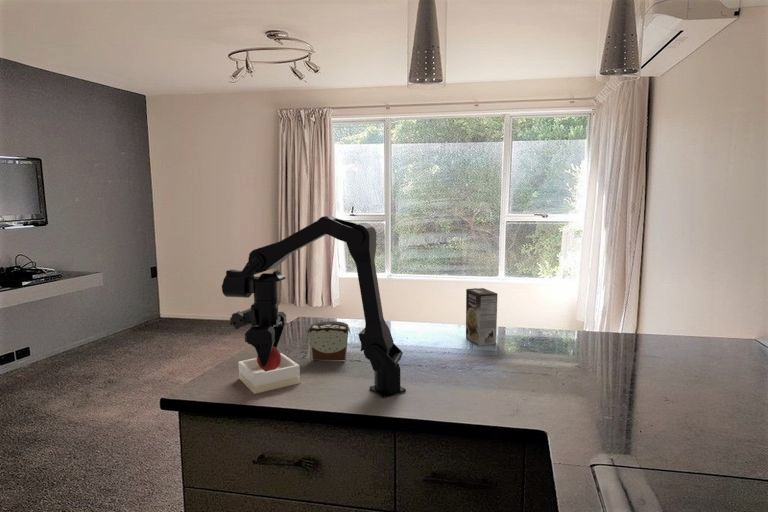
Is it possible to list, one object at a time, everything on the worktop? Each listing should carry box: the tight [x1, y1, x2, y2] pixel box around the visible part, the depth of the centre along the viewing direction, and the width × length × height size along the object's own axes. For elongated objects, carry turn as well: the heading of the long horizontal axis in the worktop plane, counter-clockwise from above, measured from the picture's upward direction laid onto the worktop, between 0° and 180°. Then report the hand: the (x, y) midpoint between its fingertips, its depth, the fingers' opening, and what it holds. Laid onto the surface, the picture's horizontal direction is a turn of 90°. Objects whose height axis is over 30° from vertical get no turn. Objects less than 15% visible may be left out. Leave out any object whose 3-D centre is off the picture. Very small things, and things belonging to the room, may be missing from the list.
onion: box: [256, 346, 281, 372], centre depth 121 cm, size 6×6×8 cm
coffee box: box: [465, 287, 498, 347], centre depth 153 cm, size 9×6×16 cm
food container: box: [306, 320, 351, 362], centre depth 139 cm, size 12×6×10 cm, turn 84°
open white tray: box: [238, 352, 301, 395], centre depth 122 cm, size 12×12×4 cm
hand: (268, 359), depth 121 cm, fingers open, 9 cm apart
